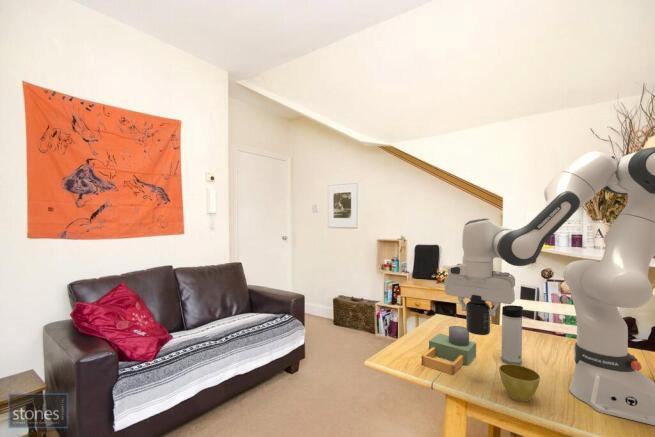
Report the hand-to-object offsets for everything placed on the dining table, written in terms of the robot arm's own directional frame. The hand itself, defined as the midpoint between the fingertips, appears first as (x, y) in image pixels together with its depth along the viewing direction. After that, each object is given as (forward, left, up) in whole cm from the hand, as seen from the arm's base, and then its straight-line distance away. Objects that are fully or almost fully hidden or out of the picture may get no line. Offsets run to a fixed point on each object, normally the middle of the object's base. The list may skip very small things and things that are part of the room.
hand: (478, 313), depth 100 cm
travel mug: (-6, -22, -21) cm, 31 cm away
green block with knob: (+12, -13, -21) cm, 28 cm away
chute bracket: (+12, -3, -21) cm, 25 cm away
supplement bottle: (0, 0, -6) cm, 6 cm away
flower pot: (-12, +2, -22) cm, 25 cm away
